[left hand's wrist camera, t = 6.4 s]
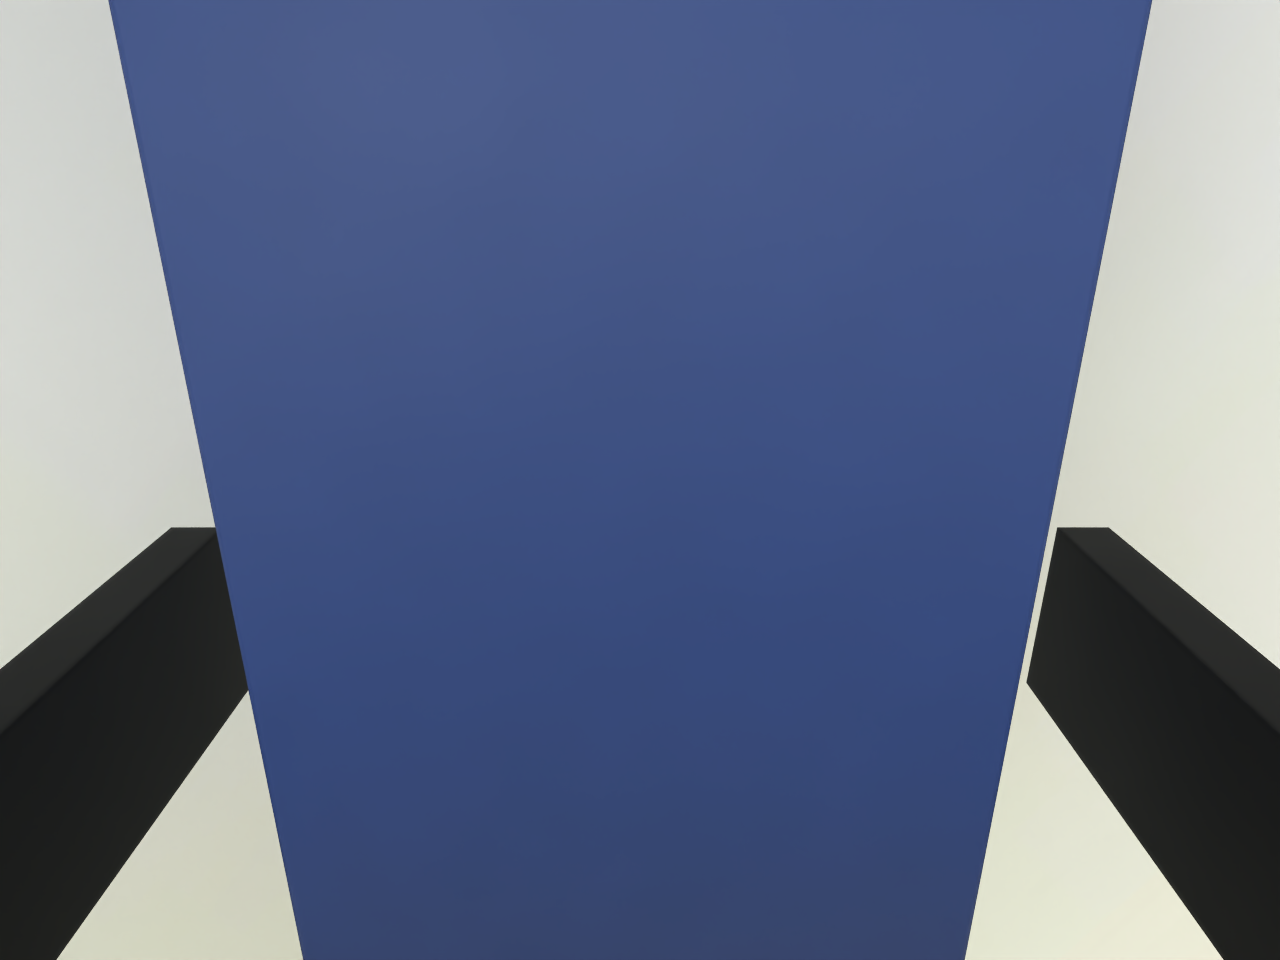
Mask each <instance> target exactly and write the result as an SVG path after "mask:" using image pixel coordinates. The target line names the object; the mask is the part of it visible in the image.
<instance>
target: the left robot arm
mask: <svg viewBox="0 0 1280 960" xmlns="http://www.w3.org/2000/svg"><path fill="white" fill-rule="evenodd" d="M1026 683H1027V684H1028V685H1029V687H1030V688H1031V690H1032V691H1033V692H1034V694H1035V695H1036V697H1037V698H1038V699H1039V701H1040V702H1041V704H1042V705H1043V707H1044V708H1045V709H1046V711H1047V712H1048V714H1049V715H1050V716H1051V718H1052V719H1053V721H1054V722H1055V723H1056V725H1057V726H1058V728H1059V729H1060V730H1061V732H1062V733H1063V735H1064V736H1065V737H1066V739H1067V740H1068V742H1069V743H1070V744H1071V746H1072V747H1073V749H1074V750H1075V751H1076V753H1077V754H1078V756H1079V757H1080V759H1081V760H1082V761H1083V763H1084V764H1085V766H1086V767H1087V768H1088V770H1089V771H1090V773H1091V774H1092V775H1093V777H1094V778H1095V780H1096V781H1097V782H1098V784H1099V785H1100V787H1101V788H1102V789H1103V791H1104V792H1105V794H1106V795H1107V796H1108V798H1109V799H1110V801H1111V802H1112V803H1113V805H1114V806H1115V808H1116V809H1117V810H1118V812H1119V813H1120V815H1121V816H1122V818H1123V819H1124V820H1125V822H1126V823H1127V825H1128V826H1129V827H1130V829H1131V830H1132V832H1133V833H1134V834H1135V836H1136V837H1137V839H1138V840H1139V841H1140V843H1141V844H1142V846H1143V847H1144V848H1145V850H1146V851H1147V853H1148V854H1149V855H1150V857H1151V858H1152V860H1153V861H1154V862H1155V864H1156V865H1157V867H1158V868H1159V870H1160V871H1161V872H1162V874H1163V875H1164V877H1165V878H1166V879H1167V881H1168V882H1169V884H1170V885H1171V886H1172V888H1173V889H1174V891H1175V892H1176V893H1177V895H1178V896H1179V898H1180V899H1181V900H1182V902H1183V903H1184V905H1185V906H1186V907H1187V909H1188V910H1189V912H1190V913H1191V914H1192V916H1193V917H1194V919H1195V920H1196V922H1197V923H1198V924H1199V926H1200V927H1201V929H1202V930H1203V931H1204V933H1205V934H1206V936H1207V937H1208V938H1209V940H1210V941H1211V943H1212V944H1213V945H1214V947H1215V948H1216V950H1217V951H1218V952H1219V954H1220V955H1221V957H1222V958H1223V959H1224V960H1280V669H1279V668H1278V667H1276V666H1275V665H1274V664H1273V663H1272V662H1270V661H1269V660H1268V659H1267V658H1265V657H1264V656H1263V655H1262V654H1261V653H1259V652H1258V651H1257V650H1256V649H1255V648H1253V647H1252V646H1251V645H1250V644H1249V643H1247V642H1246V641H1245V640H1244V639H1243V638H1241V637H1240V636H1239V635H1238V634H1236V633H1235V632H1234V631H1233V630H1232V629H1230V628H1229V627H1228V626H1227V625H1226V624H1224V623H1223V622H1222V621H1221V620H1220V619H1218V618H1217V617H1216V616H1215V615H1214V614H1212V613H1211V612H1210V611H1209V610H1208V609H1206V608H1205V607H1204V606H1203V605H1201V604H1200V603H1199V602H1198V601H1197V600H1195V599H1194V598H1193V597H1192V596H1191V595H1189V594H1188V593H1187V592H1186V591H1185V590H1183V589H1182V588H1181V587H1180V586H1179V585H1177V584H1176V583H1175V582H1174V581H1172V580H1171V579H1170V578H1169V577H1168V576H1166V575H1165V574H1164V573H1163V572H1162V571H1160V570H1159V569H1158V568H1157V567H1156V566H1154V565H1153V564H1152V563H1151V562H1150V561H1148V560H1147V559H1146V558H1145V557H1144V556H1142V555H1141V554H1140V553H1139V552H1137V551H1136V550H1135V549H1134V548H1133V547H1131V546H1130V545H1129V544H1128V543H1127V542H1125V541H1124V540H1123V539H1122V538H1121V537H1119V536H1118V535H1117V534H1116V533H1115V532H1113V531H1112V530H1111V529H1110V528H1057V532H1056V537H1055V542H1054V547H1053V552H1052V557H1051V562H1050V567H1049V572H1048V577H1047V582H1046V587H1045V592H1044V597H1043V602H1042V607H1041V612H1040V617H1039V622H1038V627H1037V632H1036V637H1035V642H1034V647H1033V652H1032V657H1031V662H1030V667H1029V672H1028V677H1027V682H1026ZM247 691H248V685H247V680H246V675H245V670H244V665H243V660H242V655H241V650H240V645H239V640H238V636H237V631H236V626H235V621H234V616H233V611H232V606H231V601H230V596H229V591H228V586H227V581H226V576H225V572H224V567H223V562H222V557H221V552H220V547H219V542H218V537H217V532H216V528H170V529H169V530H168V531H167V532H165V533H164V534H163V535H162V536H161V537H159V538H158V539H157V540H156V541H155V542H153V543H152V544H151V545H150V546H149V547H147V548H146V549H145V550H144V551H142V552H141V553H140V554H139V555H138V556H136V557H135V558H134V559H133V560H132V561H130V562H129V563H128V564H127V565H126V566H124V567H123V568H122V569H121V570H120V571H118V572H117V573H116V574H115V575H114V576H112V577H111V578H110V579H109V580H107V581H106V582H105V583H104V584H103V585H101V586H100V587H99V588H98V589H97V590H95V591H94V592H93V593H92V594H91V595H89V596H88V597H87V598H86V599H85V600H83V601H82V602H81V603H80V604H78V605H77V606H76V607H75V608H74V609H72V610H71V611H70V612H69V613H68V614H66V615H65V616H64V617H63V618H62V619H60V620H59V621H58V622H57V623H56V624H54V625H53V626H52V627H51V628H50V629H48V630H47V631H46V632H45V633H43V634H42V635H41V636H40V637H39V638H37V639H36V640H35V641H34V642H33V643H31V644H30V645H29V646H28V647H27V648H25V649H24V650H23V651H22V652H21V653H19V654H18V655H17V656H16V657H14V658H13V659H12V660H11V661H10V662H8V663H7V664H6V665H5V666H4V667H2V668H1V669H0V960H56V959H57V958H58V957H59V955H60V954H61V952H62V951H63V950H64V948H65V947H66V945H67V944H68V943H69V941H70V940H71V938H72V937H73V936H74V934H75V933H76V931H77V930H78V928H79V927H80V926H81V924H82V923H83V921H84V920H85V919H86V917H87V916H88V914H89V913H90V912H91V910H92V909H93V907H94V906H95V905H96V903H97V902H98V900H99V899H100V898H101V896H102V895H103V893H104V892H105V891H106V889H107V888H108V886H109V885H110V884H111V882H112V881H113V879H114V878H115V877H116V875H117V874H118V872H119V871H120V869H121V868H122V867H123V865H124V864H125V862H126V861H127V860H128V858H129V857H130V855H131V854H132V853H133V851H134V850H135V848H136V847H137V846H138V844H139V843H140V841H141V840H142V839H143V837H144V836H145V834H146V833H147V832H148V830H149V829H150V827H151V826H152V825H153V823H154V822H155V820H156V819H157V817H158V816H159V815H160V813H161V812H162V810H163V809H164V808H165V806H166V805H167V803H168V802H169V801H170V799H171V798H172V796H173V795H174V794H175V792H176V791H177V789H178V788H179V787H180V785H181V784H182V782H183V781H184V780H185V778H186V777H187V775H188V774H189V773H190V771H191V770H192V768H193V767H194V765H195V764H196V763H197V761H198V760H199V758H200V757H201V756H202V754H203V753H204V751H205V750H206V749H207V747H208V746H209V744H210V743H211V742H212V740H213V739H214V737H215V736H216V735H217V733H218V732H219V730H220V729H221V728H222V726H223V725H224V723H225V722H226V721H227V719H228V718H229V716H230V715H231V714H232V712H233V711H234V709H235V708H236V706H237V705H238V704H239V702H240V701H241V699H242V698H243V697H244V695H245V694H246V692H247Z"/></svg>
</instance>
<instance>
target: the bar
mask: <svg viewBox="0 0 1280 960" xmlns="http://www.w3.org/2000/svg"><path fill="white" fill-rule="evenodd" d="M1151 4H1152V0H109V5H110V10H111V15H112V20H113V25H114V30H115V35H116V40H117V45H118V50H119V55H120V59H121V64H122V69H123V74H124V79H125V84H126V89H127V94H128V99H129V104H130V109H131V114H132V119H133V124H134V128H135V133H136V138H137V143H138V148H139V153H140V158H141V163H142V168H143V173H144V178H145V183H146V188H147V192H148V197H149V202H150V207H151V212H152V217H153V222H154V227H155V232H156V237H157V242H158V247H159V252H160V256H161V261H162V266H163V271H164V276H165V281H166V286H167V291H168V296H169V301H170V306H171V311H172V316H173V320H174V325H175V330H176V335H177V340H178V345H179V350H180V355H181V360H182V365H183V370H184V375H185V380H186V384H187V389H188V394H189V399H190V404H191V409H192V414H193V419H194V424H195V429H196V434H197V439H198V444H199V448H200V453H201V458H202V463H203V468H204V473H205V478H206V483H207V488H208V493H209V498H210V503H211V508H212V512H213V517H214V522H215V527H216V532H217V537H218V542H219V547H220V552H221V557H222V562H223V567H224V572H225V576H226V581H227V586H228V591H229V596H230V601H231V606H232V611H233V616H234V621H235V626H236V631H237V636H238V640H239V645H240V650H241V655H242V660H243V665H244V670H245V675H246V680H247V685H248V690H249V695H250V700H251V704H252V709H253V714H254V719H255V724H256V729H257V734H258V739H259V744H260V749H261V754H262V759H263V764H264V769H265V773H266V778H267V783H268V788H269V793H270V798H271V803H272V808H273V813H274V818H275V823H276V828H277V833H278V837H279V842H280V847H281V852H282V857H283V862H284V867H285V872H286V877H287V882H288V887H289V892H290V897H291V901H292V906H293V911H294V916H295V921H296V926H297V931H298V936H299V941H300V946H301V951H302V956H303V960H965V955H966V950H967V945H968V940H969V935H970V930H971V924H972V919H973V914H974V909H975V904H976V899H977V894H978V889H979V884H980V878H981V873H982V868H983V863H984V858H985V853H986V848H987V843H988V837H989V832H990V827H991V822H992V817H993V812H994V807H995V802H996V797H997V791H998V786H999V781H1000V776H1001V771H1002V766H1003V761H1004V756H1005V751H1006V745H1007V740H1008V735H1009V730H1010V725H1011V720H1012V715H1013V710H1014V704H1015V699H1016V694H1017V689H1018V684H1019V679H1020V674H1021V669H1022V664H1023V658H1024V653H1025V648H1026V643H1027V638H1028V633H1029V628H1030V623H1031V618H1032V612H1033V607H1034V602H1035V597H1036V592H1037V587H1038V582H1039V577H1040V571H1041V566H1042V561H1043V556H1044V551H1045V546H1046V541H1047V536H1048V531H1049V525H1050V520H1051V515H1052V510H1053V505H1054V500H1055V495H1056V490H1057V485H1058V479H1059V474H1060V469H1061V464H1062V459H1063V454H1064V449H1065V444H1066V438H1067V433H1068V428H1069V423H1070V418H1071V413H1072V408H1073V403H1074V398H1075V392H1076V387H1077V382H1078V377H1079V372H1080V367H1081V362H1082V357H1083V352H1084V346H1085V341H1086V336H1087V331H1088V326H1089V321H1090V316H1091V311H1092V305H1093V300H1094V295H1095V290H1096V285H1097V280H1098V275H1099V270H1100V265H1101V259H1102V254H1103V249H1104V244H1105V239H1106V234H1107V229H1108V224H1109V219H1110V213H1111V208H1112V203H1113V198H1114V193H1115V188H1116V183H1117V178H1118V172H1119V167H1120V162H1121V157H1122V152H1123V147H1124V142H1125V137H1126V132H1127V126H1128V121H1129V116H1130V111H1131V106H1132V101H1133V96H1134V91H1135V86H1136V80H1137V75H1138V70H1139V65H1140V60H1141V55H1142V50H1143V45H1144V40H1145V34H1146V29H1147V24H1148V19H1149V14H1150V9H1151Z"/></svg>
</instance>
